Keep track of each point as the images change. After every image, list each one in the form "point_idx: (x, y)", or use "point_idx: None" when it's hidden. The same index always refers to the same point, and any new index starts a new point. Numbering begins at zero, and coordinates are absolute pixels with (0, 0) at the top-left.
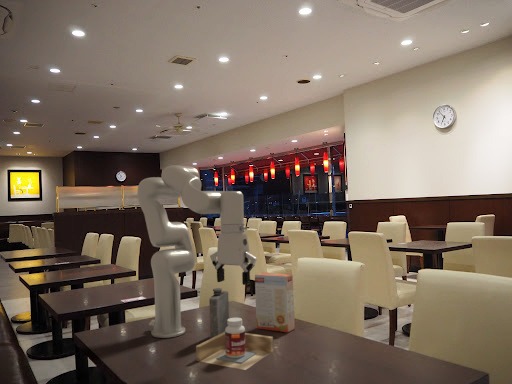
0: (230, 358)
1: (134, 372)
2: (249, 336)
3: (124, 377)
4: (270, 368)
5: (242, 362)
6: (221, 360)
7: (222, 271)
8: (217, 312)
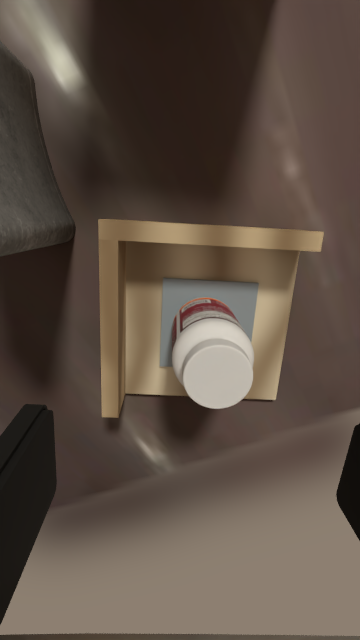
0: None
1: None
2: (221, 245)
3: None
4: (330, 352)
5: None
6: None
7: (1, 533)
8: (20, 230)
